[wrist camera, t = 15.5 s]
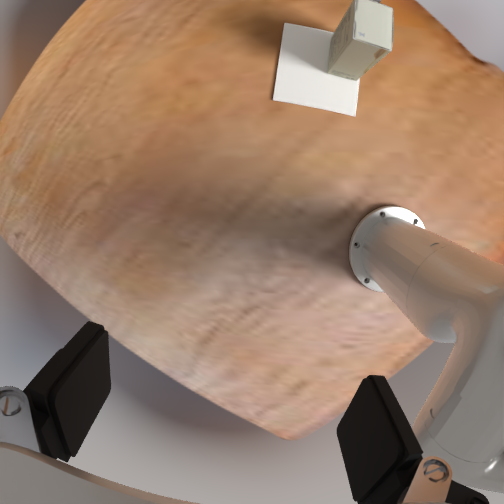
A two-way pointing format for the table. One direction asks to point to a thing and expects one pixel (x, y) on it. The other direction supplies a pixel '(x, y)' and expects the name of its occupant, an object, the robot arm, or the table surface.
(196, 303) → the table surface
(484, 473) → the robot arm
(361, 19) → the skincare box
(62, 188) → the table surface
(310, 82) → the note sheet
